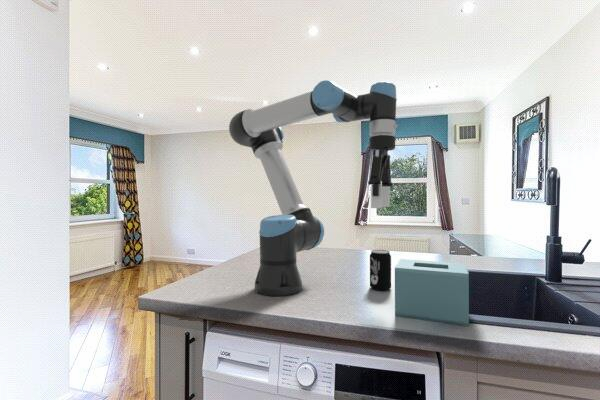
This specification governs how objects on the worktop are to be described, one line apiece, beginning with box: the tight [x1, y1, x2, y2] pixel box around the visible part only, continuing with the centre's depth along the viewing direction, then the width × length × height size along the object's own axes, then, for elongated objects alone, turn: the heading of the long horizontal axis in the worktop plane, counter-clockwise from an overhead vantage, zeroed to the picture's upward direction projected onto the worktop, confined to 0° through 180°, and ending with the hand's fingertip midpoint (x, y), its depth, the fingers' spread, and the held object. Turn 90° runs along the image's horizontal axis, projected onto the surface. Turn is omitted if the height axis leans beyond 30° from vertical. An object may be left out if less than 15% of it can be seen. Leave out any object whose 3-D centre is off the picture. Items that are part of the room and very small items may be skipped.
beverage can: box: [369, 249, 392, 292], centre depth 99 cm, size 7×7×12 cm
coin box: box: [394, 258, 470, 327], centre depth 78 cm, size 16×12×12 cm
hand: (380, 207), depth 93 cm, fingers open, 13 cm apart
